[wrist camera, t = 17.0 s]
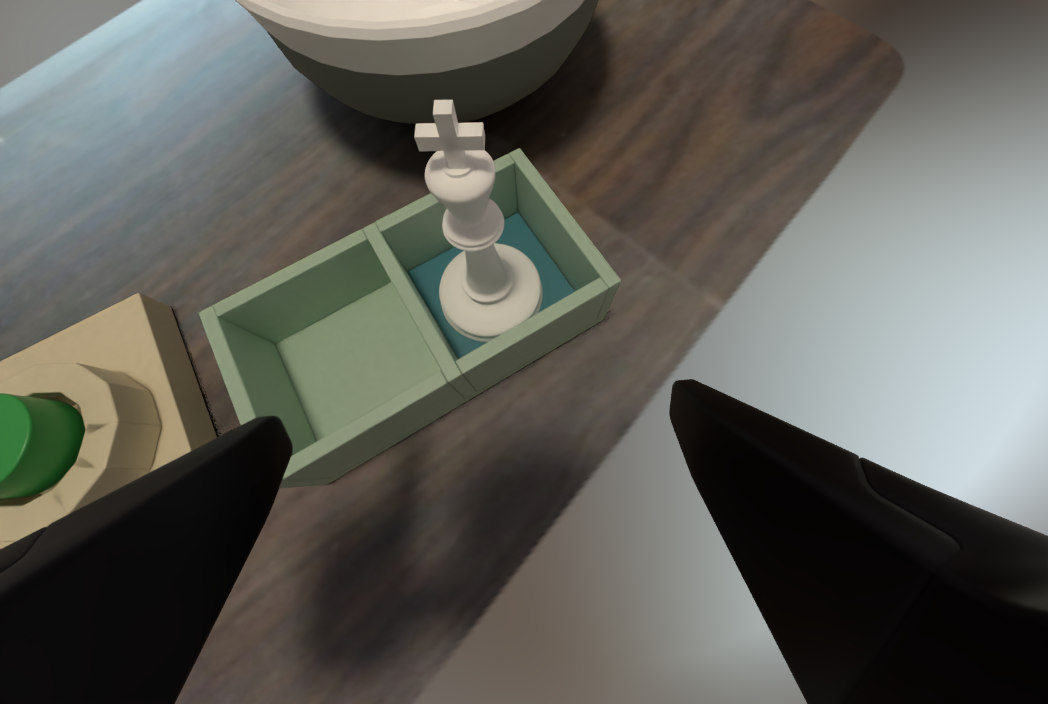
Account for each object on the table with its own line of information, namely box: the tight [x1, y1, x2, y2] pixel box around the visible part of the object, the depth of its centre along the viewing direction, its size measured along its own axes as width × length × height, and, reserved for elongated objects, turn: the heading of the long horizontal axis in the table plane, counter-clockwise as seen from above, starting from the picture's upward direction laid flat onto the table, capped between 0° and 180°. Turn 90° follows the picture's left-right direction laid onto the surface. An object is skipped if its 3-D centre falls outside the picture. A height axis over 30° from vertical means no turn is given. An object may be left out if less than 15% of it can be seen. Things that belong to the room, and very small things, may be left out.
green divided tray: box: [199, 148, 621, 488], centre depth 17 cm, size 15×8×4 cm, turn 121°
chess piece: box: [414, 100, 543, 342], centre depth 14 cm, size 5×5×10 cm
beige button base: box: [0, 293, 217, 549], centre depth 16 cm, size 9×8×4 cm
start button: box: [0, 393, 85, 499], centre depth 14 cm, size 4×4×2 cm
